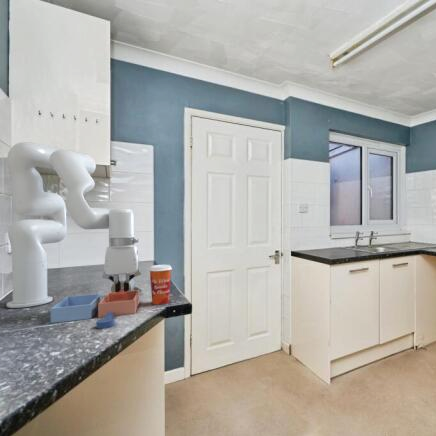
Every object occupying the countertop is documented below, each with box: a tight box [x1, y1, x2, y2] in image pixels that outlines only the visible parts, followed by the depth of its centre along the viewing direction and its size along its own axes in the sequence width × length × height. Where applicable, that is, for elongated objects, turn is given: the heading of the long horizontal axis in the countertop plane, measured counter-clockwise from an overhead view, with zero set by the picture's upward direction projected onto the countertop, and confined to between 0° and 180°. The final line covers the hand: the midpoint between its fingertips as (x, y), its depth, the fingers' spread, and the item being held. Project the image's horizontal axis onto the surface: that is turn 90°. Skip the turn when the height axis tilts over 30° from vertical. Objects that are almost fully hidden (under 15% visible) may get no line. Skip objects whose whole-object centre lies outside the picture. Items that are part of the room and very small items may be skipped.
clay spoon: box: [112, 288, 127, 300], centre depth 111 cm, size 11×4×2 cm, turn 26°
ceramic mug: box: [110, 275, 143, 296], centre depth 129 cm, size 11×8×8 cm
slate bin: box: [50, 292, 103, 324], centre depth 105 cm, size 16×10×4 cm, turn 26°
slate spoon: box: [95, 312, 115, 330], centre depth 97 cm, size 11×4×2 cm, turn 26°
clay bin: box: [97, 290, 141, 319], centre depth 111 cm, size 16×10×4 cm, turn 26°
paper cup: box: [148, 264, 173, 306], centre depth 119 cm, size 8×8×14 cm
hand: (122, 293), depth 113 cm, fingers closed on clay spoon, 1 cm apart
